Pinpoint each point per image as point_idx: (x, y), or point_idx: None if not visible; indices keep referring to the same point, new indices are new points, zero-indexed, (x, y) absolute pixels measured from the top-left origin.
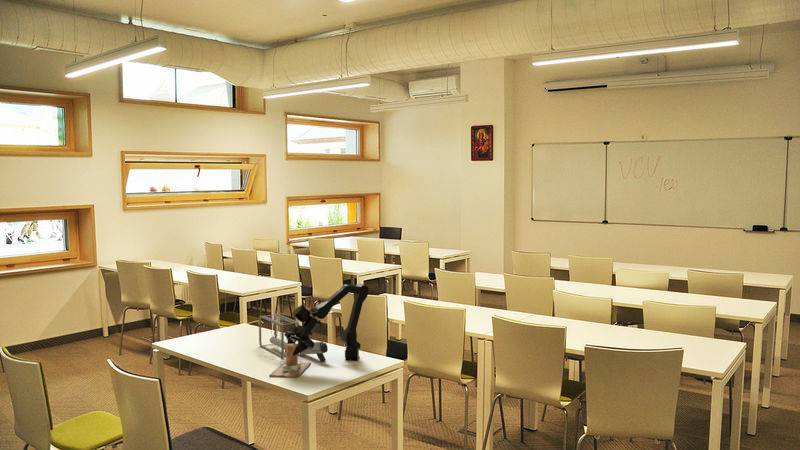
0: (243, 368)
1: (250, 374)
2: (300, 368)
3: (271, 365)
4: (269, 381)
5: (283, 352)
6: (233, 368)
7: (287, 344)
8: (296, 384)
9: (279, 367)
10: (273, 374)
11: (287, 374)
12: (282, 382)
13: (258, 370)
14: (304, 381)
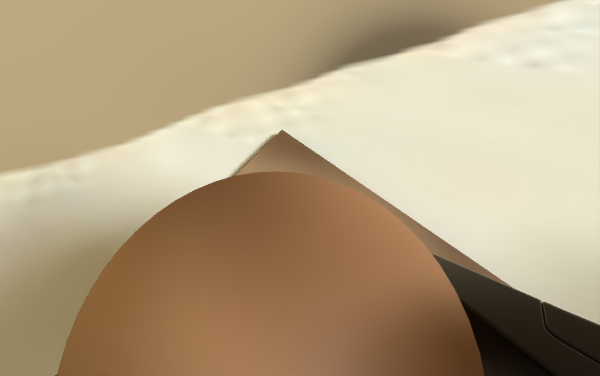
0: (563, 47)
1: (397, 60)
2: None
3: (588, 234)
4: (203, 115)
5: None
6: (585, 4)
7: (361, 240)
8: (38, 225)
9: (433, 252)
10: (276, 154)
11: None
12: (133, 168)
13: (467, 113)
14: (33, 297)
